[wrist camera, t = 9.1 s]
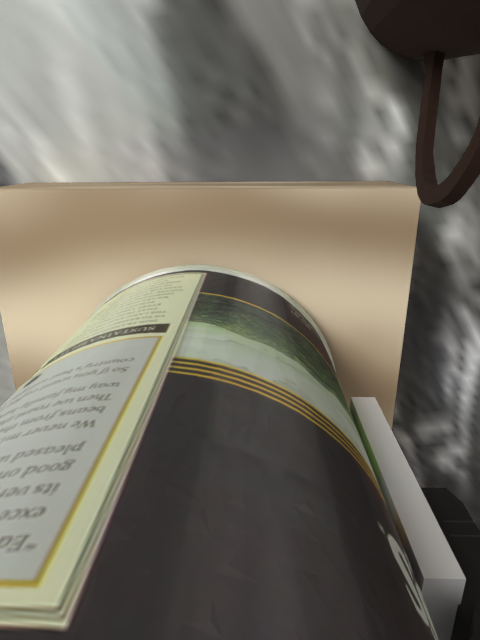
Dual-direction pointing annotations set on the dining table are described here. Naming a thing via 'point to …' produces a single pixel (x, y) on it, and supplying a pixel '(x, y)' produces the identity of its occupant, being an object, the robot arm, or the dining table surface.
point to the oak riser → (215, 259)
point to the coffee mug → (431, 76)
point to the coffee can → (195, 479)
